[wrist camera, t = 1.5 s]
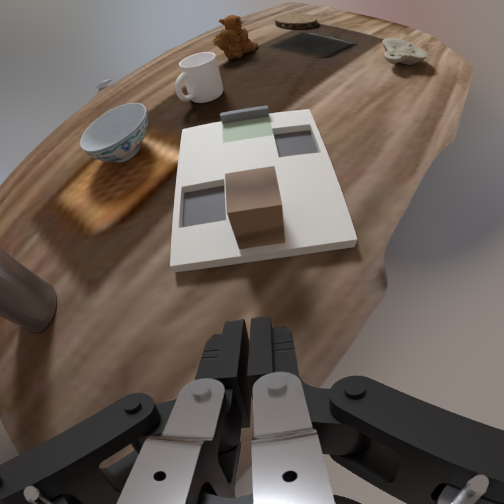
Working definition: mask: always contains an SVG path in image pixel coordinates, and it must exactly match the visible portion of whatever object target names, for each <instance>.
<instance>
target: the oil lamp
mask: <svg viewBox="0 0 504 504" xmlns="http://www.w3.org/2000/svg"><path fill="white" fill-rule="evenodd" d="M383 46H384V48H385V50H386V52H385V53H384V57H385V59H386V60H387V61H388V62H389V63H392V64H396V63H402V64H407V65H413V64H416V63H417V62H420V61H422V60H424V59H425V58H427V53H426V52H425V51H424V50H423V49H422V48H420V47H418V46H416V45H414V44H412V43H409V42H406V41H403V40H398V39H392V38H388V39H384V40H383Z"/></svg>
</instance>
